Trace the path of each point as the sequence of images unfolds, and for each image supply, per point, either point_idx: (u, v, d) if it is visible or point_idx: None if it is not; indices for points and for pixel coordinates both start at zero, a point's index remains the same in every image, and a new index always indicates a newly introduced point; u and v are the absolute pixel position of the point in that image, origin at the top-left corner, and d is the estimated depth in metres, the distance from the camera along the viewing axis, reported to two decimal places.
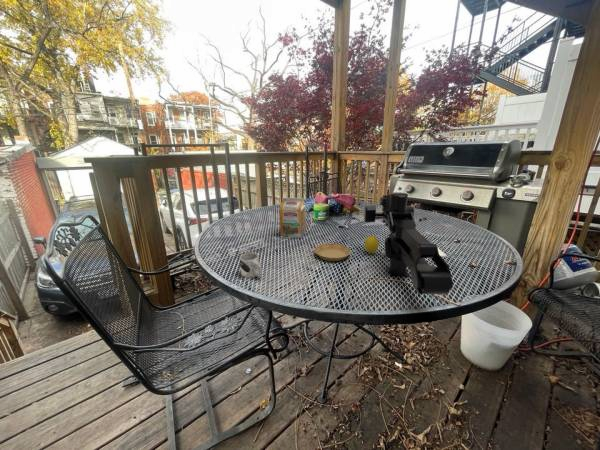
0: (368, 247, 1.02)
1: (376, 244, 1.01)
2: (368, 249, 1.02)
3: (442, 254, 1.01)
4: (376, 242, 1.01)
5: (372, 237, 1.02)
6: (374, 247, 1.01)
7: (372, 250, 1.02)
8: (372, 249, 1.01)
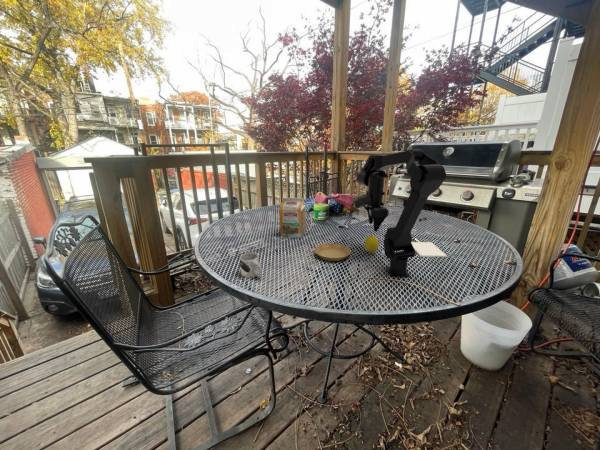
0: (368, 247, 1.02)
1: (376, 244, 1.01)
2: (368, 249, 1.02)
3: (442, 254, 1.01)
4: (376, 242, 1.01)
5: (372, 237, 1.02)
6: (374, 247, 1.01)
7: (372, 250, 1.02)
8: (372, 249, 1.01)
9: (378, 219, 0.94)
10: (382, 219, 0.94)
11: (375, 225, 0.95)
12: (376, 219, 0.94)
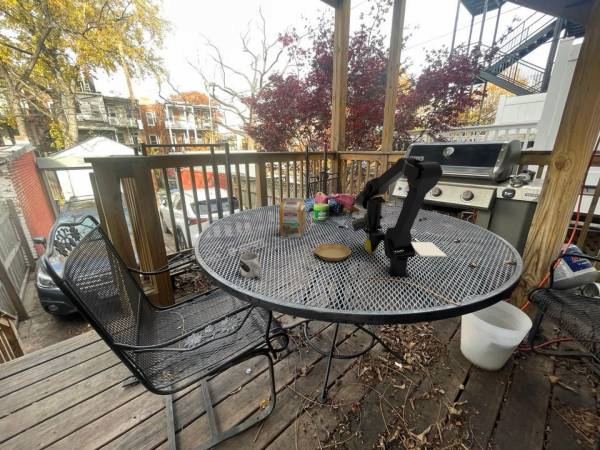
0: (368, 247, 1.02)
1: None
2: (368, 249, 1.02)
3: (442, 254, 1.01)
4: None
5: None
6: None
7: None
8: None
9: (375, 241, 0.99)
10: (379, 241, 0.98)
11: (372, 246, 1.00)
12: (373, 241, 0.99)
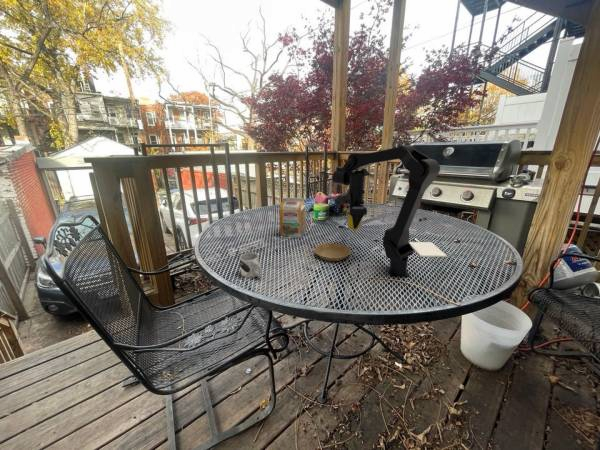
0: (350, 224, 0.99)
1: None
2: (350, 226, 0.99)
3: (442, 254, 1.01)
4: None
5: None
6: None
7: None
8: None
9: (357, 216, 0.95)
10: (361, 216, 0.95)
11: (354, 222, 0.96)
12: (355, 216, 0.95)
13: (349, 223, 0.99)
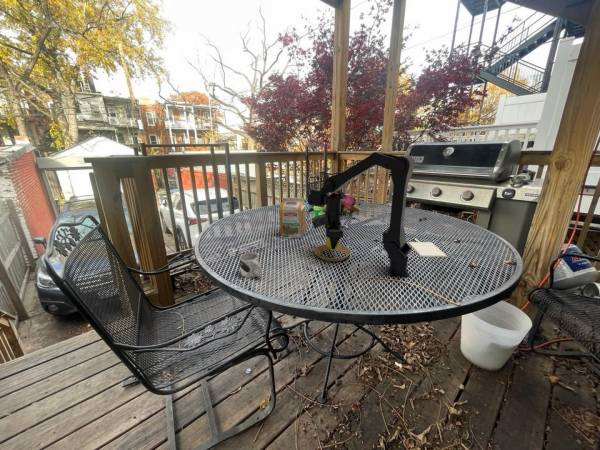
0: (329, 244, 1.00)
1: None
2: (329, 246, 1.01)
3: (442, 254, 1.01)
4: None
5: None
6: None
7: None
8: None
9: (334, 238, 0.97)
10: (338, 238, 0.97)
11: (332, 243, 0.98)
12: (332, 238, 0.97)
13: (327, 244, 1.01)
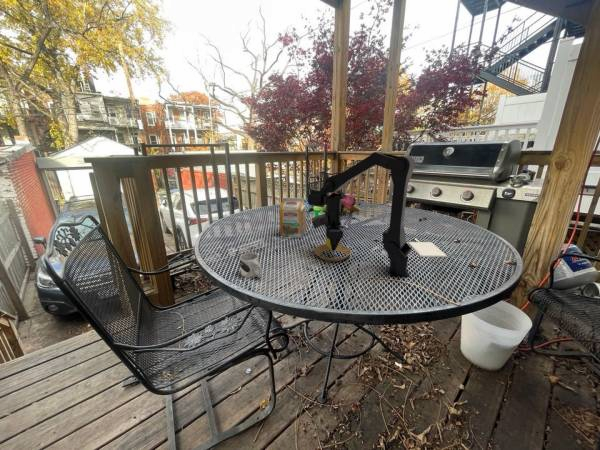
0: (329, 244, 1.00)
1: None
2: (329, 246, 1.01)
3: (442, 254, 1.01)
4: None
5: None
6: None
7: None
8: None
9: (335, 239, 0.96)
10: (338, 239, 0.95)
11: (332, 245, 0.97)
12: (333, 239, 0.96)
13: (327, 244, 1.01)
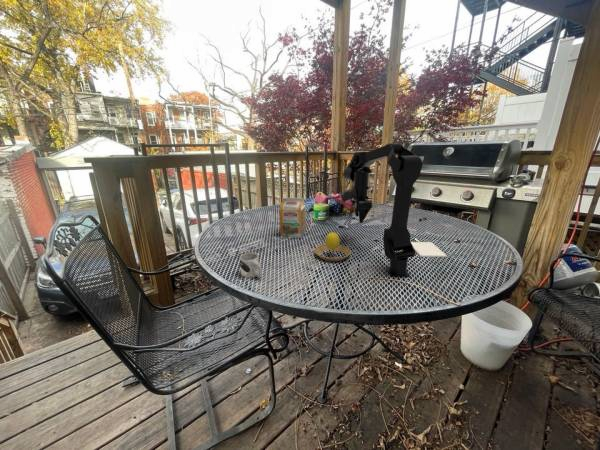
0: (328, 244, 1.00)
1: (336, 241, 1.00)
2: (329, 246, 1.01)
3: (442, 254, 1.01)
4: (336, 239, 0.99)
5: (332, 234, 1.00)
6: (334, 244, 1.00)
7: (333, 247, 1.00)
8: (332, 246, 1.00)
9: (363, 211, 1.02)
10: (367, 211, 1.02)
11: (360, 217, 1.03)
12: (361, 211, 1.02)
13: (327, 244, 1.01)
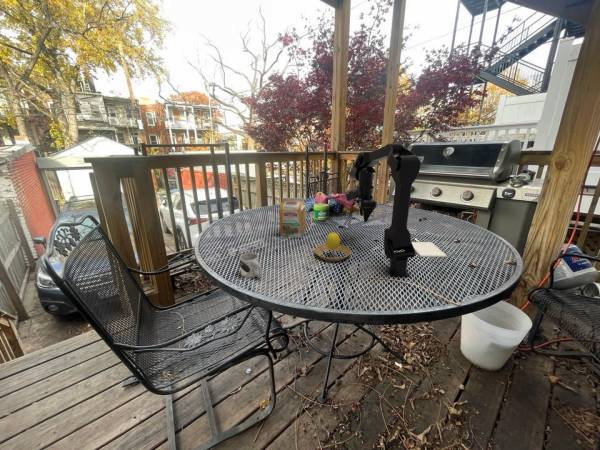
0: (329, 244, 1.00)
1: (337, 241, 0.99)
2: (329, 246, 1.00)
3: (442, 254, 1.01)
4: (337, 239, 0.99)
5: (333, 234, 1.00)
6: (335, 244, 0.99)
7: (333, 247, 1.00)
8: (333, 246, 1.00)
9: (367, 210, 1.04)
10: (371, 210, 1.03)
11: (365, 216, 1.05)
12: (365, 211, 1.04)
13: (328, 244, 1.00)
